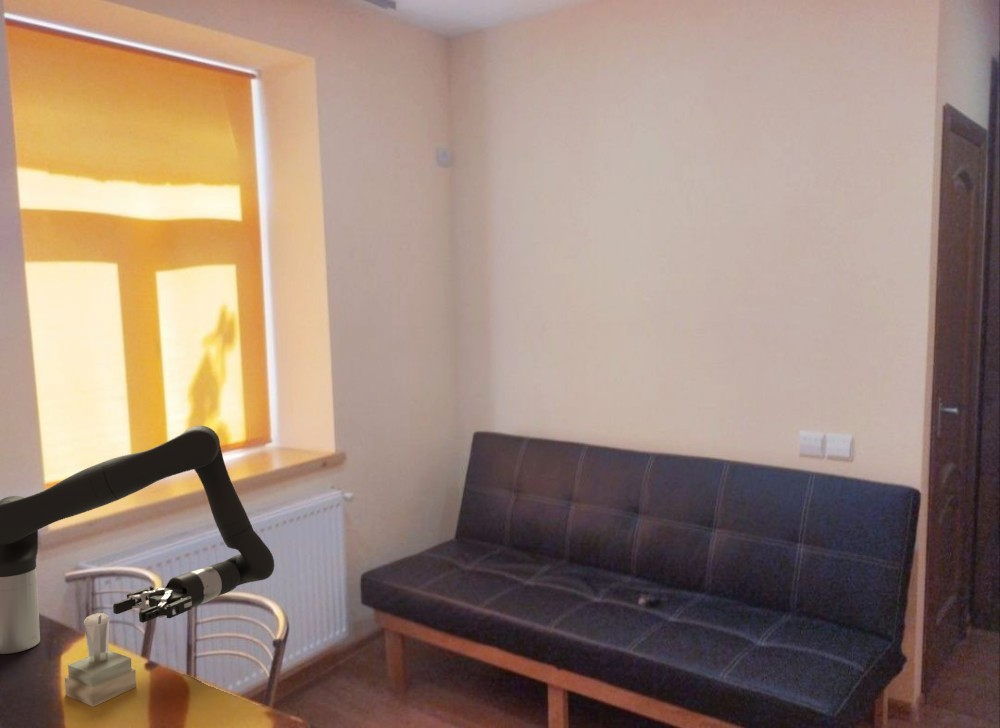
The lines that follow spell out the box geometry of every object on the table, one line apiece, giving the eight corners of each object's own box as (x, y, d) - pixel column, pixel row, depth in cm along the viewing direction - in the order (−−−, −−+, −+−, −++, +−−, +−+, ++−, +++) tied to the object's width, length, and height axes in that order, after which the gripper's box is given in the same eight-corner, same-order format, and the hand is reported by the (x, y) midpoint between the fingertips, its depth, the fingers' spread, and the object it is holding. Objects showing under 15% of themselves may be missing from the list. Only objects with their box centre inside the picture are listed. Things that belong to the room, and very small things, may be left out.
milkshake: (89, 668, 152) (87, 618, 151) (83, 659, 156) (80, 610, 156) (114, 662, 155) (112, 612, 154) (108, 652, 159) (106, 604, 158)
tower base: (65, 695, 154) (64, 665, 154) (108, 676, 162) (107, 647, 162) (93, 706, 150) (91, 676, 149) (136, 686, 157) (134, 657, 157)
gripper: (172, 566, 177) (104, 589, 163) (215, 577, 170) (148, 602, 156) (174, 598, 178) (106, 624, 164) (217, 611, 171) (150, 639, 157)
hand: (127, 613), depth 160 cm, fingers open, 8 cm apart
